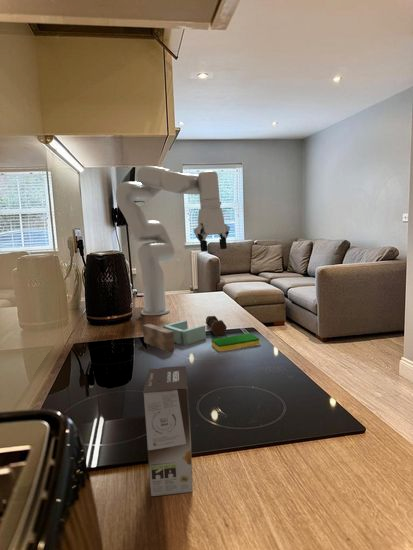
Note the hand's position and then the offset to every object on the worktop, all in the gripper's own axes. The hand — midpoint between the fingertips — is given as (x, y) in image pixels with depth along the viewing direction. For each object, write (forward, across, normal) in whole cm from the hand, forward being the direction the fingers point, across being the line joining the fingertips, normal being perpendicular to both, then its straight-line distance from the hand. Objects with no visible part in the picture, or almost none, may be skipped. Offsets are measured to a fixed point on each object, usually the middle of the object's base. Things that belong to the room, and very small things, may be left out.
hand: (214, 250), depth 144 cm
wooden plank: (+28, +32, +6) cm, 43 cm away
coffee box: (+31, +65, +61) cm, 95 cm away
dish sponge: (+30, +15, +24) cm, 41 cm away
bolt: (+29, +8, +5) cm, 31 cm away
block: (+28, +22, +6) cm, 36 cm away
